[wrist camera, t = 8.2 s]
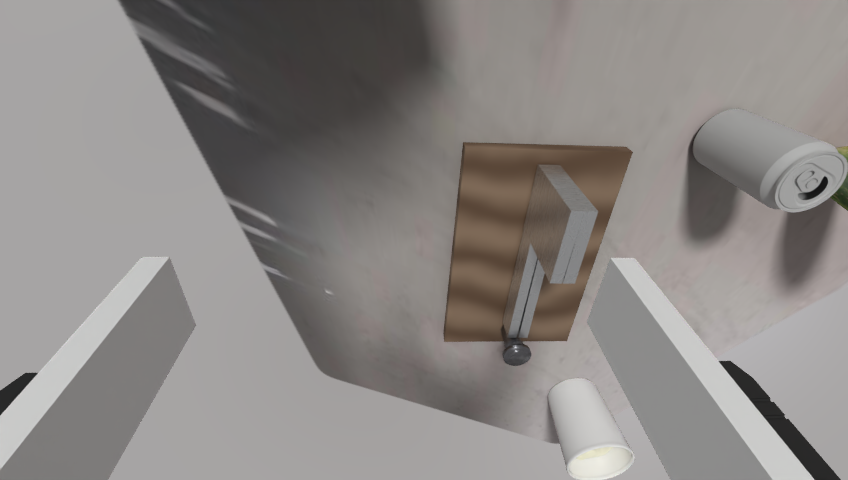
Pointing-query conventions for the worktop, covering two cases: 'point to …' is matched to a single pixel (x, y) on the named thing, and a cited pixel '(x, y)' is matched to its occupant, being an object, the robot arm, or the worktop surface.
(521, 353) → the tongs hinge post
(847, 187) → the vegetable
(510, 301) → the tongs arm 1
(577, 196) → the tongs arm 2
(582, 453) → the candle holder
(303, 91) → the worktop surface
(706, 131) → the beverage can
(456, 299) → the walnut board
